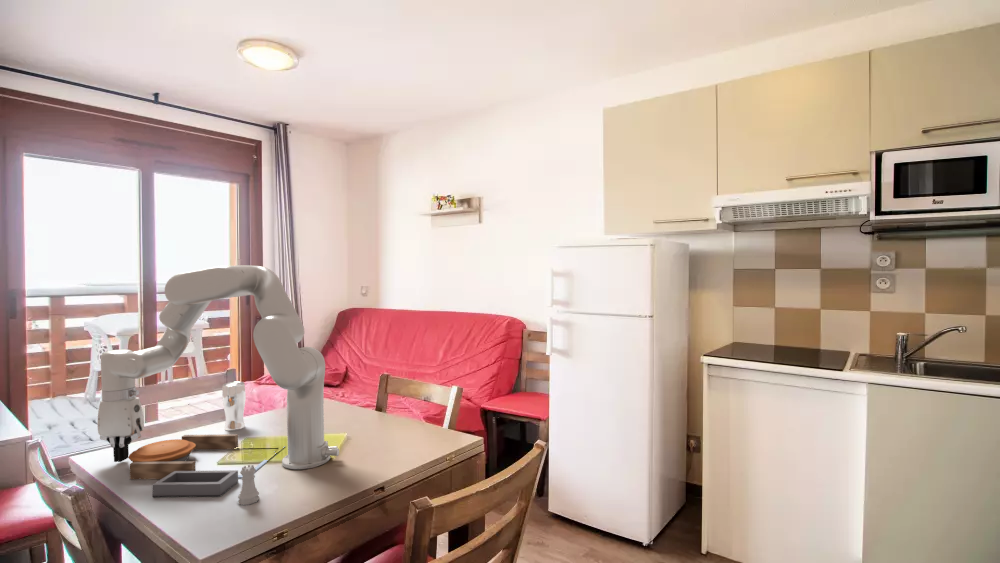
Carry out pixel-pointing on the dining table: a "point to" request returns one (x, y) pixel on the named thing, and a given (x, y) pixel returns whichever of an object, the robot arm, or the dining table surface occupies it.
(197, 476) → the grey tray
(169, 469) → the channel walls
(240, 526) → the dining table surface
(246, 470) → the rook chess piece
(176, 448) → the pie
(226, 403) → the beer glass
